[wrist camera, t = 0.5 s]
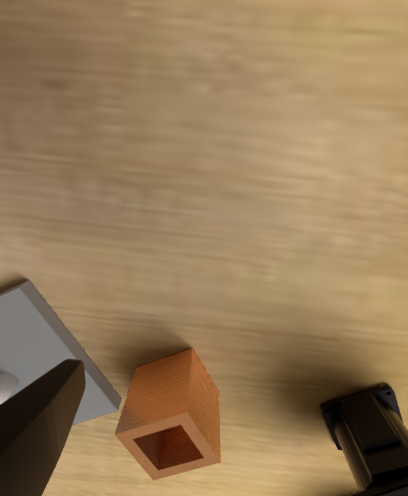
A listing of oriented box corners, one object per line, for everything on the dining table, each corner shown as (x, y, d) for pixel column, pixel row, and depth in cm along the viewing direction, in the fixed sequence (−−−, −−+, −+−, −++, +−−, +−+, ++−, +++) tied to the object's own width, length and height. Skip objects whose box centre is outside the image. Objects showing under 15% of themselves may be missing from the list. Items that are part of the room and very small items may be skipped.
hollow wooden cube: (218, 391, 26) (220, 462, 20) (165, 408, 27) (153, 480, 21) (192, 347, 24) (187, 412, 18) (136, 367, 25) (114, 434, 19)
